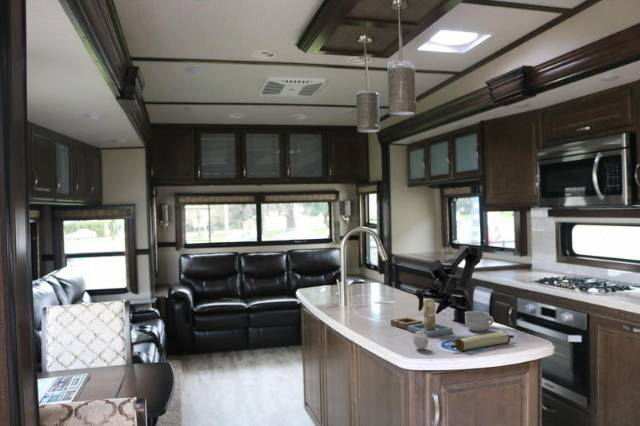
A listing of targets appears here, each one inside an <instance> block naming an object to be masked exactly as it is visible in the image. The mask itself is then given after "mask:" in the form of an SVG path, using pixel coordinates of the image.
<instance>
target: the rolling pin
mask: <svg viewBox="0 0 640 426" xmlns="http://www.w3.org/2000/svg"><path fill="white" fill-rule="evenodd" d="M514 337H515V336H514V335H513V334H510V333H509V332H508V331H506V330H505V331H504V330H503V331H499V332H492V333H486V334H480V335H475V336H469V337H463V338H457V339H455V341H454V344H452V345H450V349H452V350H453V349H456V350H457V351H458V350H459V351H458V352H460V351H462V352H464V351H467V350H473V349H474V350H475V349H477V348H483V347H490V346H493V345H494V346H495V345H501V344H509V343H510V342H511V341H510V340H511V339H514Z"/></svg>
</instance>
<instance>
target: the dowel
mask: <svg viewBox="0 0 640 426" xmlns="http://www.w3.org/2000/svg"><path fill="white" fill-rule="evenodd" d="M435 301H436V299H433V298H428V299H423V303H424V307H423V323H424V330H426V331H434V330H436V328H435V323H436V305H435V304H436V303H435Z"/></svg>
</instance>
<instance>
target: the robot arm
mask: <svg viewBox="0 0 640 426" xmlns="http://www.w3.org/2000/svg"><path fill="white" fill-rule="evenodd" d="M483 255H484V254H483V251H482V250H481V249H480V248H475V247H472V246H470V245H460V246H459V249H457V251H456V252H455V253H454V254H453V255H452V256H451V257H450V258H449V259H446V260H444V261H443V262H441V260H440V259H435V260H434V261H433V262H431V263H430V264H429V265H428V270H429V272H430V273H431V275H432V276H433V278H434V279H436V280H434V281H433V280H425V283H424V286H423V287H424V288H426V289H427V292H426V291H425V289H416V290H415V293H414V295H415V296H416V298H417V299H418V312H421V311H422V310H423V309H424V303H423V299H435V300H440V302H439V303H438V306H437V308H436V309H435V315H438V314H440V313H442V311H443V310H446V309H448V308H449V307H450V309H453V319H452V322H456V323H461V324H463V323H464V324H465V312H468V311H471V310H472V307H473V305H472V303H471V301H470V296H469V292H468V291H469V287H470V284H471V281H472V277H473V274H474V271H475V267H476V266H477V265H478V264H479V263H480V262H481V260H482V258H483ZM463 261H464V265H463V270H462V273H461V276H460V278H459V283H458V284H457V288H453V289H452V291H451V293H450V292H447V287H448V285H449V284H452V283H453V282H452V279H451V277H450V276H455V275H456V273H457V272H458V270H459V265H461V263H462V262H463Z"/></svg>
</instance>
